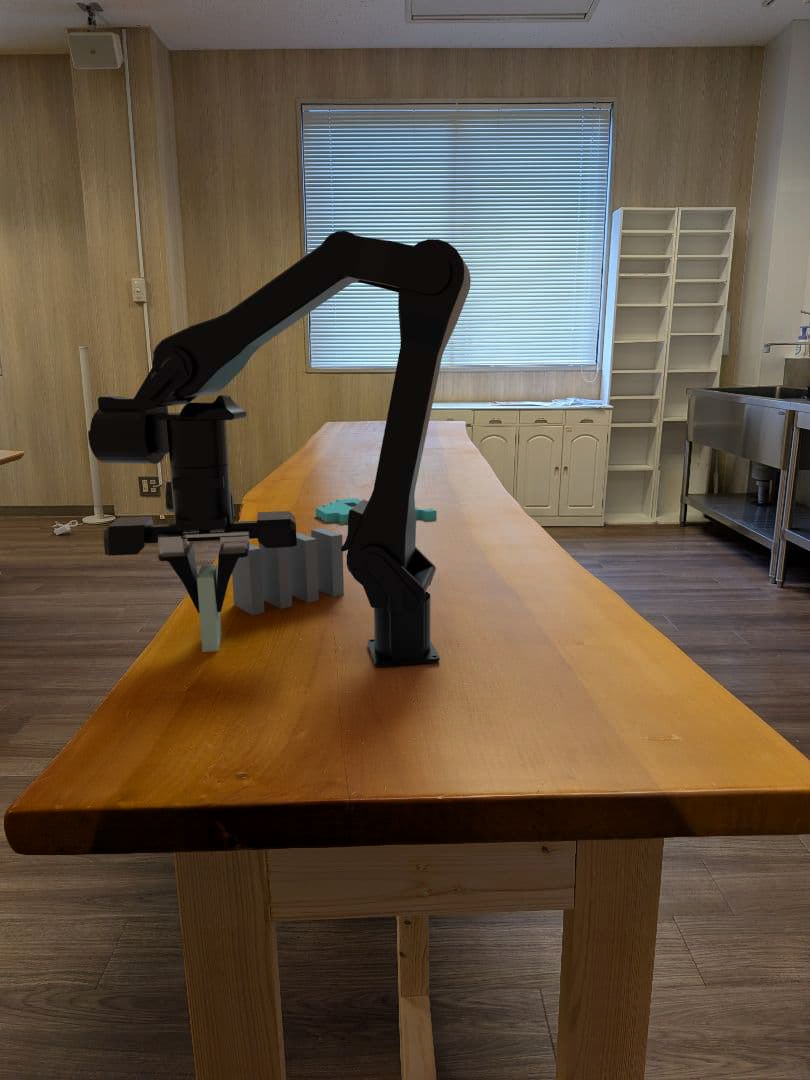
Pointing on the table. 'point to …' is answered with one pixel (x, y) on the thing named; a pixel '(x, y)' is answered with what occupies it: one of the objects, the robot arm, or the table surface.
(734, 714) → the table surface
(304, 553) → the domino
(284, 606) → the domino
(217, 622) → the sage domino
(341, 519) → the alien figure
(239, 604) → the domino
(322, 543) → the domino
